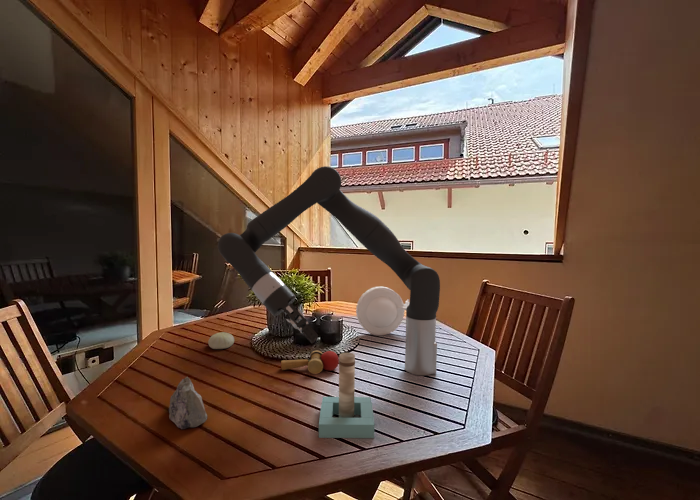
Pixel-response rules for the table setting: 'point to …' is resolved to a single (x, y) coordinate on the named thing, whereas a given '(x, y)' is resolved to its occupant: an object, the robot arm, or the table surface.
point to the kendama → (314, 362)
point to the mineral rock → (186, 406)
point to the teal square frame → (346, 419)
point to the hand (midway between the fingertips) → (315, 340)
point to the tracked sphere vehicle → (380, 310)
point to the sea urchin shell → (221, 340)
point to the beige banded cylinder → (346, 385)
